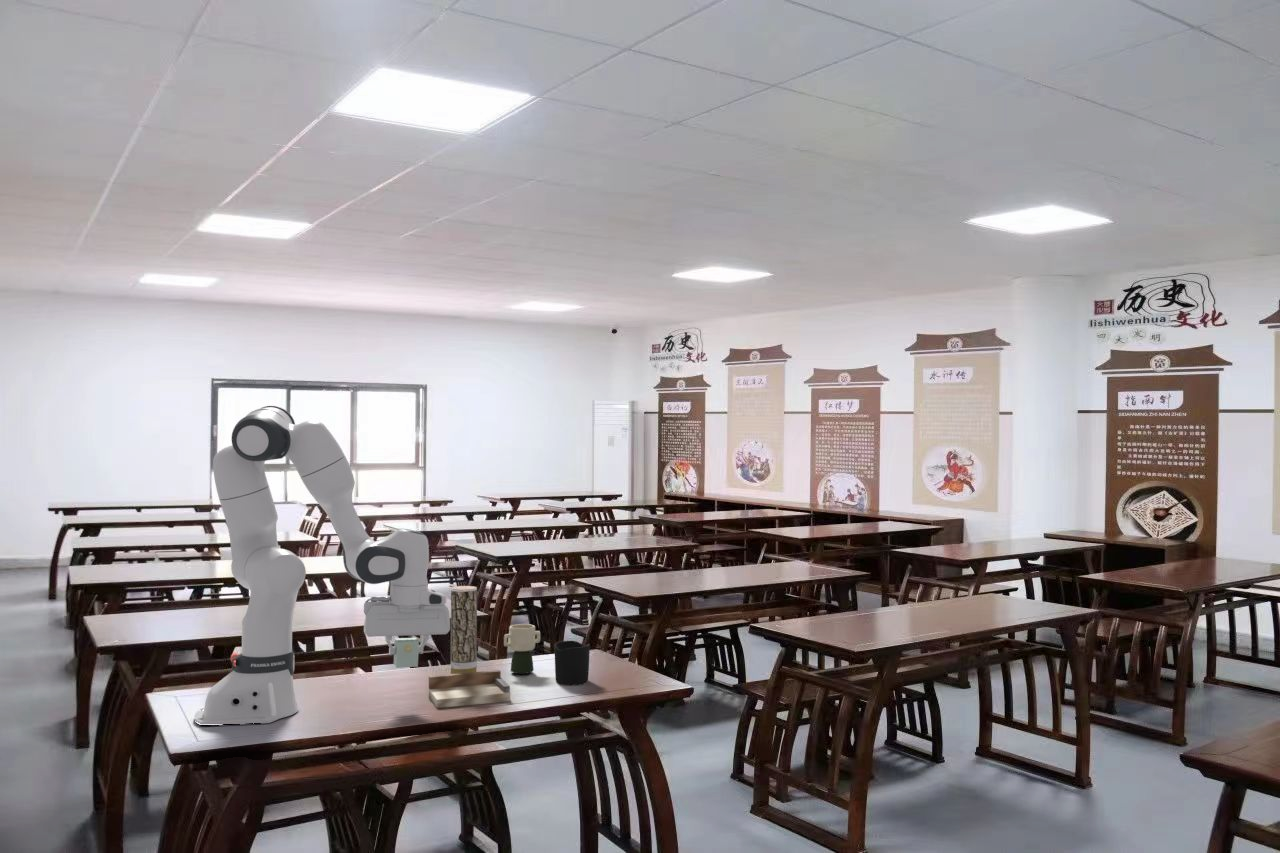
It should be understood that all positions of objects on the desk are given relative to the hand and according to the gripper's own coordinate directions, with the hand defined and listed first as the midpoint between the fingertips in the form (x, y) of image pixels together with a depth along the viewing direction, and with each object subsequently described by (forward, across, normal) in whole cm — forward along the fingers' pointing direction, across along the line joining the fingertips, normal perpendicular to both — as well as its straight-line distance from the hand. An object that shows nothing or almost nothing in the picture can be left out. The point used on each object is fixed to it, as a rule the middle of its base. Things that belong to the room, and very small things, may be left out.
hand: (406, 653), depth 233 cm
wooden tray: (+12, +16, +2) cm, 20 cm away
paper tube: (+12, +18, +19) cm, 29 cm away
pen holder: (+11, +45, +8) cm, 47 cm away
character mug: (+11, +35, +23) cm, 43 cm away
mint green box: (+3, 0, 0) cm, 3 cm away
